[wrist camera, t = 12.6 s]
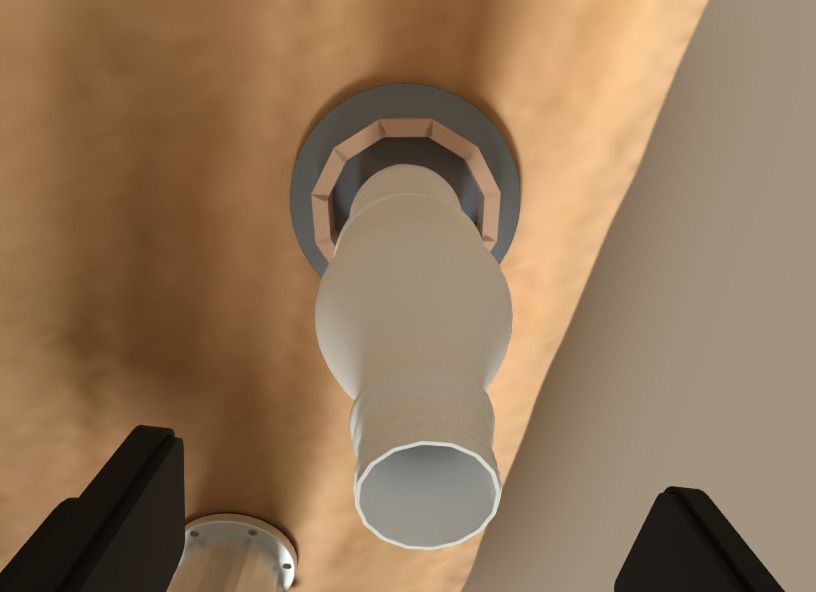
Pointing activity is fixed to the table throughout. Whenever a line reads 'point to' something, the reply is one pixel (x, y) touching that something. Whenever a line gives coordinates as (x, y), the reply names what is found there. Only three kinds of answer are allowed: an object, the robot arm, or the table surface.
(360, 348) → the water bottle
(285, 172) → the table surface
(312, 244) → the ring plate
